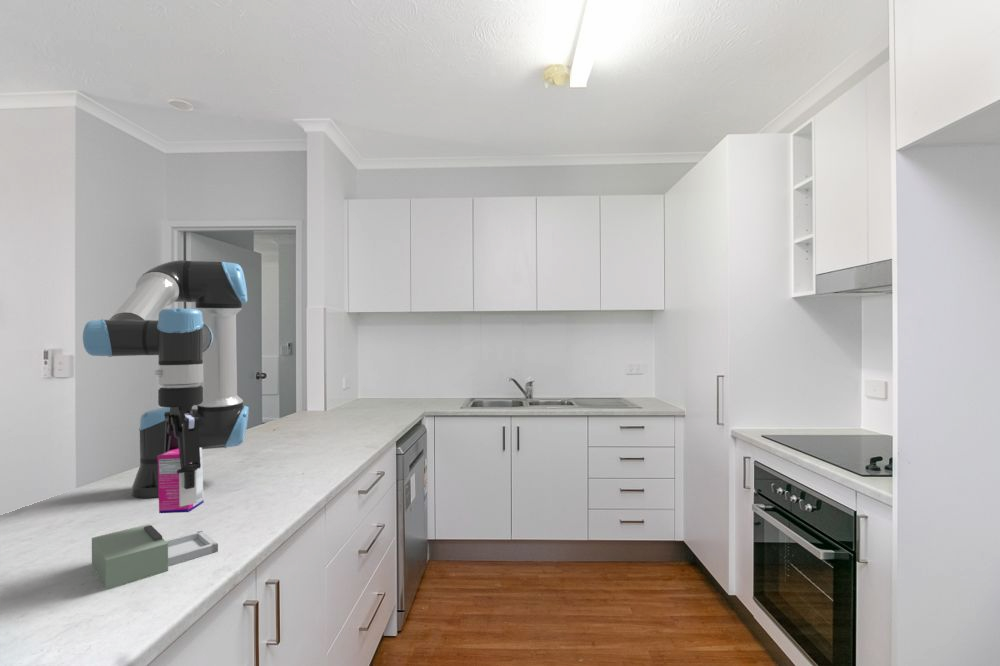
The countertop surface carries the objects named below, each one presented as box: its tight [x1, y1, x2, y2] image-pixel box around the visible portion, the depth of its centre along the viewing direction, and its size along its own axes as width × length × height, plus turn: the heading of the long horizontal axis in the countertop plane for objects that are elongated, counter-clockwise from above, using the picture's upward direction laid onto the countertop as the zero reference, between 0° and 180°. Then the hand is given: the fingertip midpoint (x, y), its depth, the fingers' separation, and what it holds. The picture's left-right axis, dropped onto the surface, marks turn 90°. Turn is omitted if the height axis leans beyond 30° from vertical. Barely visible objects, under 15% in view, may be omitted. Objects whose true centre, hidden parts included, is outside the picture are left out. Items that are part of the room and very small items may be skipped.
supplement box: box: [158, 448, 204, 514], centre depth 98 cm, size 6×6×12 cm
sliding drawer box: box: [91, 523, 219, 590], centre depth 95 cm, size 14×18×6 cm
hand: (181, 499), depth 98 cm, fingers closed on supplement box, 8 cm apart
